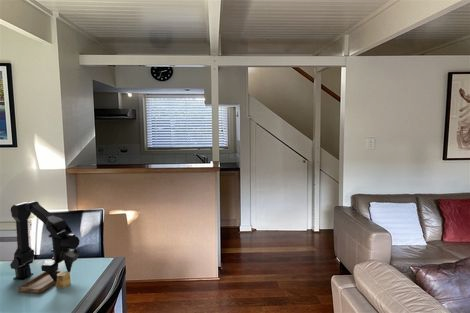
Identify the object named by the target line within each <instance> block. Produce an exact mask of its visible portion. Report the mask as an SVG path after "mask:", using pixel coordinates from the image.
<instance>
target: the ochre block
mask: <svg viewBox="0 0 470 313" xmlns="http://www.w3.org/2000/svg"><path fill="white" fill-rule="evenodd" d="M60 271H61V272H60V273H58V274H57V281H56V284H55V287H56V288H59V289H60V288H61V289H65V288H66V287H68V286H69V285H71V283H72V282H71V271H70V272H68V271H67V272H65V271H66V270H60Z"/></svg>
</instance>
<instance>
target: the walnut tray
mask: <svg viewBox="0 0 470 313" xmlns="http://www.w3.org/2000/svg"><path fill="white" fill-rule="evenodd" d="M61 271H62V270H57V274H58V273H60V272H61ZM64 271H65V272H68V271H67V270H64ZM53 286H56V282H55V281H54V280H53V279H52V278H51V276H50V275H49V274H48V273H47V272H44V271H42V272H41V273H40V274H38V275H36V276H35V277H33V278H31V279H30V280H28V281H27V282H25V283H23V284H21V285H20V286H18V287H17V290H18V293H21V294H32V295H33V294H34V295H35V294H36V295H41V294H43V293H45V292H46V291H48V290H49V289H50V288H52V287H53Z"/></svg>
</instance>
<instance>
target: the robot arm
mask: <svg viewBox="0 0 470 313" xmlns="http://www.w3.org/2000/svg"><path fill="white" fill-rule="evenodd" d="M10 213H11V218H12V219H14V220H15V226H16V228H15V229H16V244H17V246H16V249H15V252H14V253H13V260H12V261H11V263H10V264H9V266H10V269H12V270H14V272H15V273H14V274H15V277H13V280H17V281H18V280H19V281H24V280H26V279H27V278H30V277H31V276H33V275H34V272H33V273H32V269H31V266H30V264H33V263H34V260H35V259H34V258H35V250H34V249H33V248H31V247H30V238H29V236H30V235H29V222H28V221H29V219H30V217H31V214H33V215H34V216H35V217H36V218H38V219H39V220H40V221H41V222H42V223H44V225H45V229H46V231H48V232H49V234H48V238H50V239H51V243H52V248H51V250H50V252H51V253H52V254H53V257H52V258H51V260H52V261H47V262H45V263H43V264H42V265H41V272H47V273H48V274H49V275H50V276H51V278H52V279H53V280H54V281H55V282H56V281H57V271H59V265H60V264H61V263H62V262H63V263H64V265H65V268H66V271H67V272H70V273H71V270H72V267H73V264H74V263H75V261H77V260H78V257H79V256H80V255H81V253H80V252H81V251H80V249H79V248H78V246H79V244H80V242H81V241H80V238H79V236H77V235H76V233H73V231H72V230H71V227H70V226H69V224H68V223H67V222H66V220H65V219H63V218H61V217H59V216H55V215H54V214H52V213H50V212H49V210H47V209H45V207H43V206H42V205H41V204H40V203H39V202H38V201H37V200H33V201H30V202H27V201H24V202H20V203H17V204H13V205H11V207H10Z"/></svg>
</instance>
